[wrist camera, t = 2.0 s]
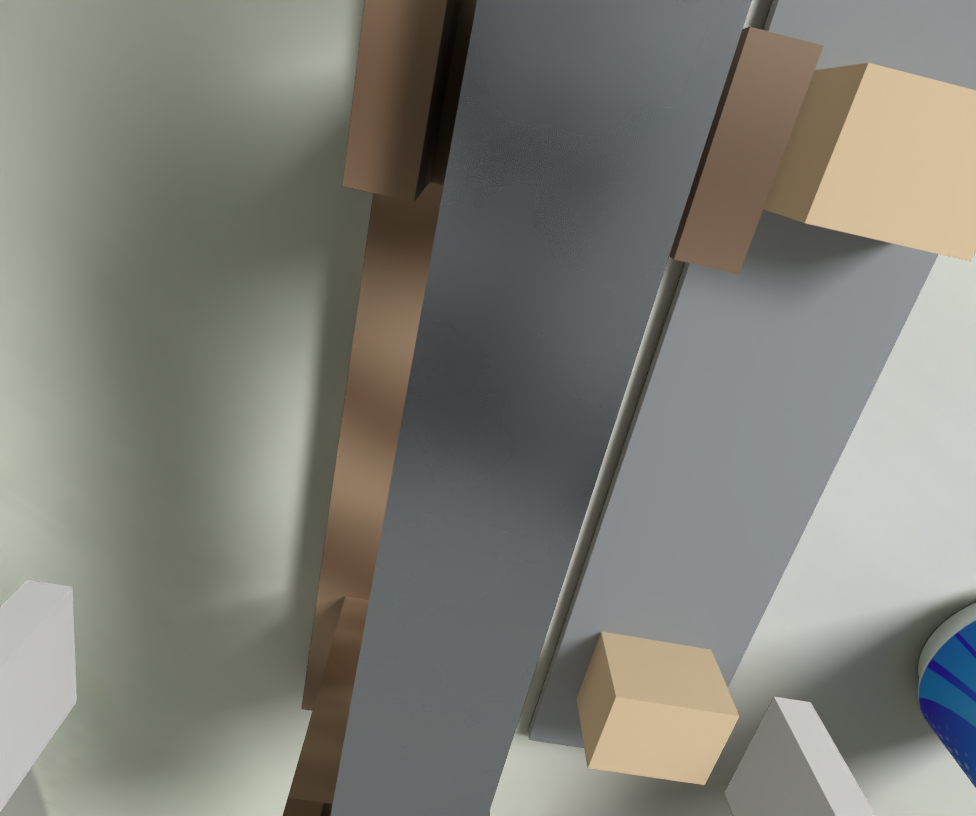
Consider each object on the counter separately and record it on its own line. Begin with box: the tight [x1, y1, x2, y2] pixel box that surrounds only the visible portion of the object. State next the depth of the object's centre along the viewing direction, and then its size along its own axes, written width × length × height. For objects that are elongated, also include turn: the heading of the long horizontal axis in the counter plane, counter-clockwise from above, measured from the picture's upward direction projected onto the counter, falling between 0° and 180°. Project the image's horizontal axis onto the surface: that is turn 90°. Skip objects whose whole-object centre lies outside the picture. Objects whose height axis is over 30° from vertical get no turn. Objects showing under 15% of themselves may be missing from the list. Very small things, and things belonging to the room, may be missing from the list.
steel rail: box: [331, 0, 752, 816], centre depth 14 cm, size 30×3×4 cm, turn 168°
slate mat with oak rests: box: [528, 0, 976, 785], centre depth 24 cm, size 32×8×4 cm, turn 168°
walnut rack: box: [283, 0, 823, 816], centre depth 19 cm, size 30×8×13 cm, turn 168°
